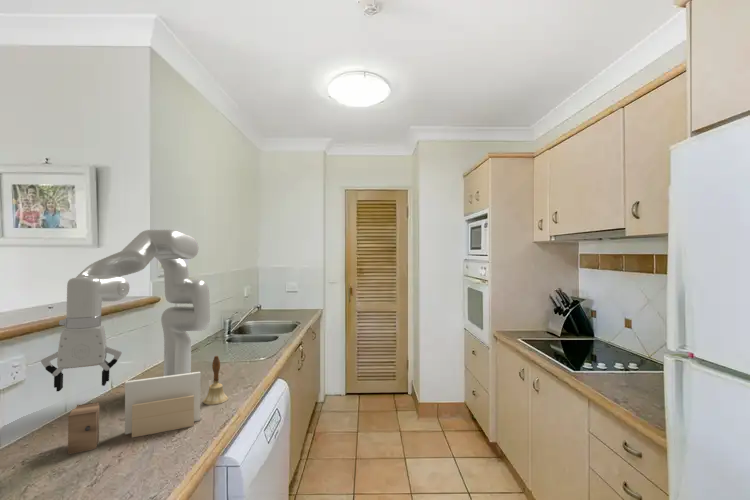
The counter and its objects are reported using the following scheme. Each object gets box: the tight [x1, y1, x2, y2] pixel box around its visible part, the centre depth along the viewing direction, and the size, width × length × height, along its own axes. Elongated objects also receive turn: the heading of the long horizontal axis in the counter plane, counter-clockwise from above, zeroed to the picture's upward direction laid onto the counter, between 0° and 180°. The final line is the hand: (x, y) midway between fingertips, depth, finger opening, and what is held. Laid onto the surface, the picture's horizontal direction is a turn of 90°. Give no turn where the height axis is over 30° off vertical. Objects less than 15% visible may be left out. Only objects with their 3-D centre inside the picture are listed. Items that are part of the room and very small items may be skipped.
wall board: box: [124, 371, 201, 438], centre depth 115 cm, size 5×20×15 cm, turn 118°
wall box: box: [67, 401, 100, 455], centre depth 105 cm, size 9×6×10 cm
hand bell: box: [202, 355, 229, 406], centre depth 137 cm, size 8×8×16 cm
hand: (82, 387), depth 102 cm, fingers open, 9 cm apart
